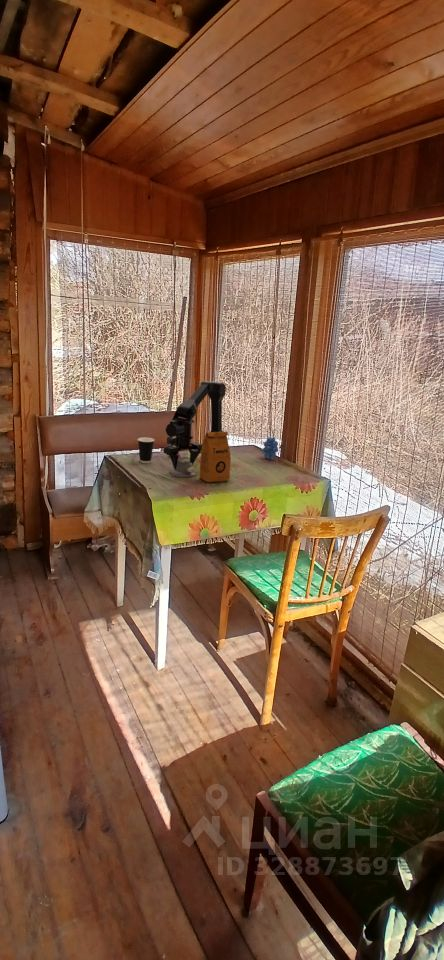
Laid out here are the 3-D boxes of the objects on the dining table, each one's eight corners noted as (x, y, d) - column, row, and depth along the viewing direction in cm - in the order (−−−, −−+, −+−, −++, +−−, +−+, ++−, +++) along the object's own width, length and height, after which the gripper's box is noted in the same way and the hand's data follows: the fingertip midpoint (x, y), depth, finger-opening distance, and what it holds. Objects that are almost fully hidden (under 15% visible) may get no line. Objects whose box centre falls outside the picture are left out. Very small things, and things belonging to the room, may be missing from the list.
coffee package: (232, 482, 243) (235, 433, 237) (206, 484, 238) (209, 434, 231) (222, 476, 252) (225, 428, 245) (197, 478, 246) (200, 429, 240)
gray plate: (185, 468, 259) (185, 466, 259) (201, 475, 251) (201, 473, 251) (164, 471, 252) (164, 470, 251) (180, 479, 243) (180, 477, 243)
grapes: (282, 461, 283) (285, 438, 280) (272, 462, 280) (274, 439, 276) (269, 455, 293) (271, 433, 289) (259, 456, 289) (261, 434, 286)
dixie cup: (155, 463, 264) (156, 441, 260) (139, 464, 260) (140, 441, 257) (151, 459, 270) (151, 437, 267) (135, 459, 267) (135, 437, 264)
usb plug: (179, 468, 256) (180, 457, 254) (196, 475, 247) (196, 464, 246) (172, 469, 253) (173, 458, 252) (189, 476, 245) (189, 465, 243)
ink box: (173, 458, 274) (174, 435, 271) (168, 456, 278) (169, 433, 275) (188, 457, 279) (189, 434, 275) (183, 454, 283) (184, 432, 279)
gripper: (189, 427, 257) (188, 460, 262) (156, 431, 245) (155, 465, 250) (205, 432, 250) (203, 466, 254) (171, 437, 238) (170, 471, 242)
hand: (183, 467), depth 250 cm, fingers open, 9 cm apart
